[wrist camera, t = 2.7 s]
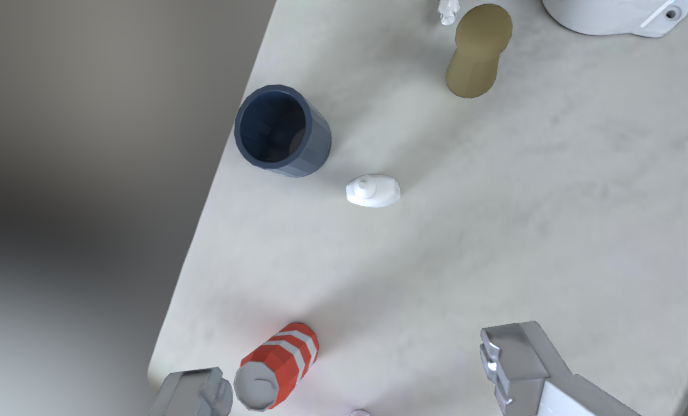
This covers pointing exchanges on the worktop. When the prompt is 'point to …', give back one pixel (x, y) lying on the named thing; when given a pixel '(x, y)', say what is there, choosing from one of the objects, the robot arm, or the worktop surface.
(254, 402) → the beverage can
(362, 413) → the smoothie
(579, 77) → the worktop surface
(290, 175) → the dark blue round pot
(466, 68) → the olive pawn
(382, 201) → the eye dropper bottle
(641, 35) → the robot arm
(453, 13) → the small white plastic part
